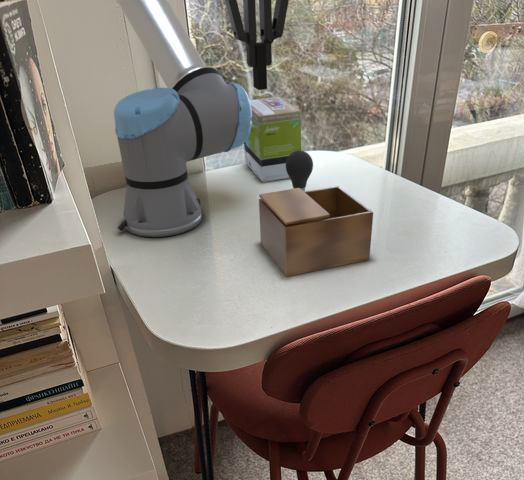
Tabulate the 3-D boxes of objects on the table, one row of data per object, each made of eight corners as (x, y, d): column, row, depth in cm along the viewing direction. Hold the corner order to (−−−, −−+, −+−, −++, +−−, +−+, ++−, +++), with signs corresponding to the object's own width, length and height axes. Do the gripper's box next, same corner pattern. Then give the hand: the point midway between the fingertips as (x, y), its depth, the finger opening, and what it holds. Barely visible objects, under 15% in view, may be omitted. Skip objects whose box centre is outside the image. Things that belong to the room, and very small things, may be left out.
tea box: (243, 163, 137) (239, 99, 128) (281, 158, 139) (280, 95, 130) (261, 183, 125) (258, 114, 116) (302, 177, 127) (303, 109, 118)
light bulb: (297, 206, 113) (297, 157, 107) (280, 198, 117) (279, 150, 111) (318, 199, 116) (319, 151, 110) (301, 192, 119) (301, 145, 113)
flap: (285, 225, 84) (285, 222, 84) (259, 196, 94) (259, 194, 94) (330, 216, 86) (330, 214, 85) (299, 189, 96) (299, 187, 95)
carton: (286, 276, 89) (285, 227, 84) (260, 244, 99) (258, 198, 94) (369, 260, 93) (373, 211, 88) (336, 230, 103) (338, 185, 98)
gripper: (215, -95, 73) (229, 96, 87) (306, -98, 76) (305, 88, 90) (202, -91, 79) (216, 88, 93) (287, -94, 82) (288, 80, 96)
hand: (260, 87), depth 91 cm, fingers closed
